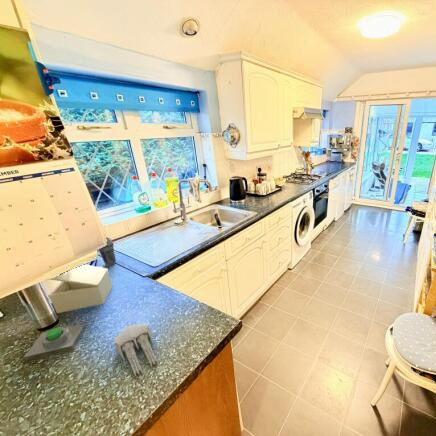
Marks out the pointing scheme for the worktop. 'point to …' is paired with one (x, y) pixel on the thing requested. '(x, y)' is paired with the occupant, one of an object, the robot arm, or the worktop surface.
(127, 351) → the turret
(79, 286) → the chest
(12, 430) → the worktop surface
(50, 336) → the button
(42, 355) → the block
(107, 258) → the beverage cup
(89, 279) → the chest lid
